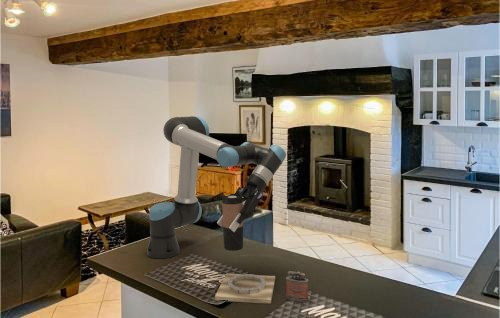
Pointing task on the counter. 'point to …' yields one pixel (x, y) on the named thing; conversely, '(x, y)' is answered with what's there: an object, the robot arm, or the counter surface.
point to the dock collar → (246, 290)
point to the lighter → (297, 287)
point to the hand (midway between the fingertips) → (225, 227)
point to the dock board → (259, 297)
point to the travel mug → (230, 211)
